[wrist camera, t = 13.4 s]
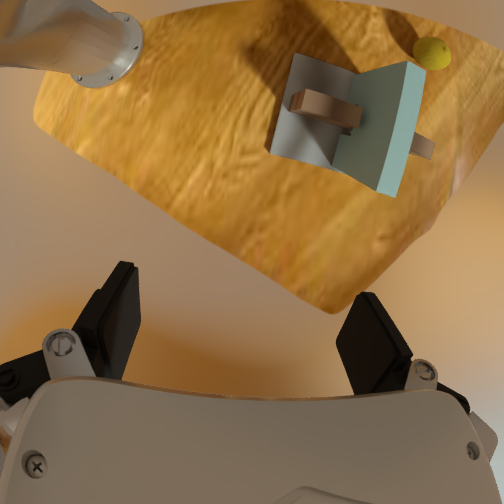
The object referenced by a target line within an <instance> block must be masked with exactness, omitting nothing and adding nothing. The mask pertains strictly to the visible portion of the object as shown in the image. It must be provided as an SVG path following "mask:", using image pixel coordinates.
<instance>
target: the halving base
mask: <svg viewBox="0 0 504 504" xmlns="http://www.w3.org/2000/svg"><path fill="white" fill-rule="evenodd" d="M355 75H358V74H356V73H354V72H351V71H349V70H346V69H344V68H341V67H338V66H335V65H333V64H330V63H327V62H324V61H321V60H318V59H315V58H312V57H309V56H305V55H302V54H299V53H294V55H293V59H292V63H291V67H290V71H289V75H288V79H287V83H286V87H285V91H284V95H283V99H282V103H281V107H280V111H279V115H278V119H277V123H276V127H275V131H274V135H273V139H272V143H271V147H270V151H269V153H270V154H274V155H278V156H282V157H286V158H290V159H294V160H298V161H302V162H306V163H309V164H313V165H317V166H320V167H324V168H327V169H331V170H334V171H337V172H341V173H343V172H342V171H340V170H338V169H336V168H334V167H332V163H333V159H334V155H335V152H336V148H337V144H338V140H339V136H340V134H342V135H347V136H351V133H352V129H353V127H355V128H359V124H360V120H361V116H362V112H363V108H361V107H358V106H356V105H353V104H350V103H348V100H349V96H350V91H351V87H352V82H353V78H354V76H355ZM434 145H435V143H434V142H432V141H431V140H429V139H427V138H425V137H423V136H421V135H419V134H418V133H416V132H414V135H413V139H412V143H411V147H410V151H409V153H410V154H413V155H417V156H420V157H423V158H426V159H430V160H431V156H432V153H433V149H434ZM344 174H345V173H344Z"/></svg>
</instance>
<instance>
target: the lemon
mask: <svg viewBox="0 0 504 504" xmlns="http://www.w3.org/2000/svg"><path fill="white" fill-rule="evenodd" d="M412 51H413V56H414V58H415V60H416V61H417V62H418V63H419V65H421V66H422V67H424V68H426V69H429V70H440V69H443V68H445V67H446V66H448V65H449V63H450V62H451V52H450V49H449V47H448V46H447V45H446V44H445V43H444V42H443V41H442V40H440V39H438V38H436V37H423V38H420V39H418V40H417V41H416V42H415V43H414V45H413V49H412Z"/></svg>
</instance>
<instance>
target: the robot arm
mask: <svg viewBox="0 0 504 504" xmlns="http://www.w3.org/2000/svg"><path fill="white" fill-rule="evenodd" d="M128 20H129V21H128ZM143 43H144V33H143V30H142V27H141V25H140V23H139V22H138V21H137V20H136V19H135V18H134V17H132V16H131V15H129V14H126V13H121V12H113V13H109V12H107V11H106V10H104V9H103V8H101V7H100V6H98V5H97V4H95V3H94V2H92V1H91V0H0V67H18V68H29V69H38V70H47V71H54V72H61V73H67V74H70V75H71V77H72V78H73V79H74V81H75V82H76V83H78V84H79V85H81V86H84V87H87V88H101V87H106V86H108V85H111V84H113V83H115V82H116V81H118V80H120V79H121V78H122V77H123V76H125V75H126V74H127V73H128V72H129V71H130V70H131V69H132V67H133V66H134V65H135V63H136V62H137V60H138V58H139V56H140V54H141V51H142V48H143ZM137 47H138V48H137ZM136 48H137V49H136ZM112 77H113V79H112ZM140 323H141V313H140V299H139V277H138V267H134V263H131V262H125V261H120V262H119V263H118V264H117V266H116V267H115V269H114V270H113V272H112V273H111V275H110V276H109V278H108V279H107V281H106V282H105V284H104V285H103V287H102V288H101V289H97V290H96V291H95V292H94V294H93V295H92V297H91V298H90V300H89V301H88V303H87V305H86V306H85V308H84V309H83V311H82V313H81V314H80V316H79V318H78V319H77V321H76V323H75V324H74V326H73V328H72V329H71V330H69V329H57V330H54V331H52V332H50V333H49V334H48V335H47V336H46V337H45V338H44V340H43V343H42V348H43V349H42V350H40V351H37V352H34V353H31V354H29V355H26V356H23V357H20V358H17V359H15V360H12V361H9V362H6V363H4V364H2V365H0V504H502V501H501V498H500V494H499V490H498V487H497V484H496V481H495V478H494V474H493V471H492V469H491V466H490V463H489V462H490V460H491V458H492V456H493V453H494V451H495V449H496V446H497V443H498V438H497V435H496V433H495V432H494V431H493V430H492V429H491V428H490V427H489V426H488V425H487V424H486V423H485V422H484V421H483V420H482V419H480V418H479V417H478V416H477V415H476V414H475V413H474V412H473V411H472V412H471V413H469V412H470V406H469V403H468V401H467V399H466V398H465V397H464V396H462V395H460V394H458V393H457V392H455V391H453V390H451V389H450V388H448V387H446V386H444V385H443V384H441V383H439V382H437V380H438V373H437V370H436V369H435V367H434V366H433V365H432V364H431V363H429V362H428V361H426V360H423V359H415V360H414V361H411V357H412V356H413V353H412V351H411V350H410V348H409V346H408V345H407V343H406V341H405V340H404V338H403V337H402V335H401V333H400V332H399V330H398V329H397V327H396V325H395V324H394V322H393V321H392V319H391V318H390V316H389V315H388V313H387V311H386V310H385V308H384V307H383V305H382V304H381V302H380V301H379V299H378V298H377V296H376V295H375V294H374V293H372V292H361V293H360V294H359V295H357V296H356V298H355V300H354V302H353V305H352V307H351V309H350V311H349V313H348V315H347V318H346V320H345V322H344V324H343V326H342V328H341V330H340V332H339V335H338V336H337V339H336V346H337V349H338V352H339V354H340V357H341V359H342V362H343V365H344V367H345V370H346V373H347V376H348V378H349V381H350V384H351V387H352V389H353V392H354V395H350V396H335V397H313V398H312V397H311V398H269V397H268V398H267V397H246V396H230V395H218V394H207V393H199V392H190V391H182V390H176V389H168V388H162V387H155V386H149V385H144V384H139V383H133V382H128V381H122V380H121V379H122V376H123V373H124V370H125V367H126V364H127V361H128V358H129V355H130V352H131V349H132V347H133V344H134V341H135V338H136V335H137V333H138V330H139V327H140Z"/></svg>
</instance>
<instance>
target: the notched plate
mask: <svg viewBox="0 0 504 504" xmlns="http://www.w3.org/2000/svg"><path fill="white" fill-rule="evenodd" d="M425 77H426V71H425V70H423V69H421V68H420V67H418V66H416V65H415V64H413V63H411V62H409V61H404V62H400V63H396V64H392V65H389V66H385V67H381V68H378V69H374V70H371V71H367V72H364V73H361V74H358V75H355V76H354V78H353V82H352V87H351V91H350V96H349V100H348V103H350V104H353V105H356V106H358V107H361V108H363V112H362V116H361V120H360V124H359V128H355V127H353V129H352V133H351V136H347V135H342V134H340V136H339V140H338V144H337V148H336V152H335V155H334V159H333V163H332V167H334V168H336V169H338V170H340V171H342V172H343V173H345V174H347V175H349V176H351V177H352V178H354V179H356V180H358V181H359V182H361V183H363V184H365V185H366V186H368V187H370V188H371V189H373V190H375V191H377V192H380V193H383V194H386V195H389V196H392V197H396V194H397V191H398V188H399V185H400V182H401V178H402V175H403V172H404V168H405V165H406V161H407V158H408V154H409V151H410V147H411V143H412V139H413V135H414V131H415V127H416V122H417V118H418V114H419V109H420V104H421V99H422V94H423V88H424V83H425Z"/></svg>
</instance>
